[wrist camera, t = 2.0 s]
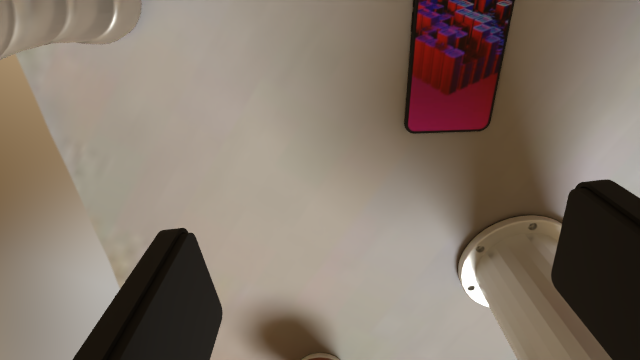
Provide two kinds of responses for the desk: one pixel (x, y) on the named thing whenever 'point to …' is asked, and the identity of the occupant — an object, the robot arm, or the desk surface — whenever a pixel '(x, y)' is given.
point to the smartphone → (455, 63)
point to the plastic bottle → (64, 22)
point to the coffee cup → (320, 357)
